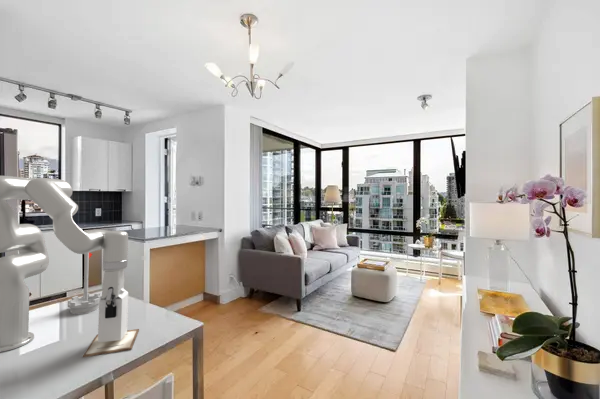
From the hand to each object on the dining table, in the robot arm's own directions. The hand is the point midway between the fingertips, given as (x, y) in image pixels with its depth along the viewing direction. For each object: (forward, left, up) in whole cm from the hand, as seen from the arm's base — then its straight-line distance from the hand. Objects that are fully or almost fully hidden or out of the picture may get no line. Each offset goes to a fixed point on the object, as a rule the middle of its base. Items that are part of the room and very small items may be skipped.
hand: (113, 312), depth 100 cm
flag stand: (-20, +39, -11) cm, 45 cm away
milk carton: (0, 0, -9) cm, 9 cm away
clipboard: (0, 0, -11) cm, 11 cm away
